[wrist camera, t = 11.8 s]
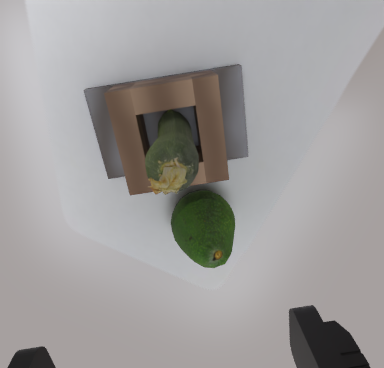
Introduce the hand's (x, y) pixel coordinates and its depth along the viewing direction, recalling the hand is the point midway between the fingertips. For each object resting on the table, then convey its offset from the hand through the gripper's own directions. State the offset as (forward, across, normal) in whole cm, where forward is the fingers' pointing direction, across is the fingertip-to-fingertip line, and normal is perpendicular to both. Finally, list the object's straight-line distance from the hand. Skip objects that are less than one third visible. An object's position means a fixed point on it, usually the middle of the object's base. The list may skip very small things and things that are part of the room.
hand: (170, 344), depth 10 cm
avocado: (+32, -2, +12) cm, 34 cm away
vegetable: (+30, 0, 0) cm, 30 cm away
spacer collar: (+32, 0, 0) cm, 32 cm away
